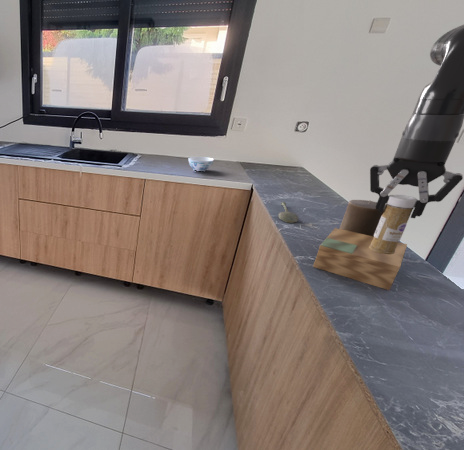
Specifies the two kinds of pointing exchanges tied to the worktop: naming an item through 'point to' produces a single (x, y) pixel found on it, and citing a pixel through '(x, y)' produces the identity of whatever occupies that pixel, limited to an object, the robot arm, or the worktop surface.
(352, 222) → the pillar candle
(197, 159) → the chinaware
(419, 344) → the worktop surface
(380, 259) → the labeled wooden box
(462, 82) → the robot arm
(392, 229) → the sprinkles bottle
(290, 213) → the soupspoon
